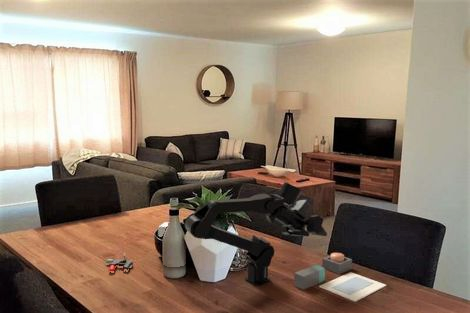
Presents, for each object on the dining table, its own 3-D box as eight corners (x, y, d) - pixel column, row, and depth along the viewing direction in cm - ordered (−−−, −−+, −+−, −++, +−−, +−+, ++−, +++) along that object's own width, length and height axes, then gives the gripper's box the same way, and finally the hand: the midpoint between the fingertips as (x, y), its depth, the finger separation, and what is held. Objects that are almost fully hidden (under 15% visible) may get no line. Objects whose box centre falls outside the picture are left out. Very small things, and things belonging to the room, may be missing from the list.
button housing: (339, 274, 154) (339, 264, 154) (321, 267, 160) (321, 258, 160) (352, 268, 159) (352, 259, 159) (334, 262, 165) (334, 253, 165)
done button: (338, 266, 156) (338, 258, 156) (327, 262, 160) (328, 254, 159) (346, 263, 159) (346, 255, 159) (335, 259, 163) (336, 251, 163)
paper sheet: (355, 301, 133) (355, 300, 133) (318, 286, 144) (318, 285, 144) (386, 285, 145) (386, 284, 145) (350, 273, 155) (350, 271, 155)
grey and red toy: (107, 263, 165) (107, 251, 164) (136, 266, 162) (136, 254, 161) (93, 273, 155) (93, 260, 155) (123, 276, 153) (123, 263, 152)
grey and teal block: (303, 289, 142) (303, 276, 141) (294, 285, 145) (294, 272, 144) (324, 280, 149) (324, 268, 148) (315, 277, 152) (315, 264, 151)
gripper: (311, 193, 146) (342, 213, 152) (276, 197, 161) (306, 216, 167) (301, 223, 141) (334, 243, 148) (267, 225, 157) (298, 242, 163)
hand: (317, 235), depth 156 cm, fingers open, 9 cm apart
